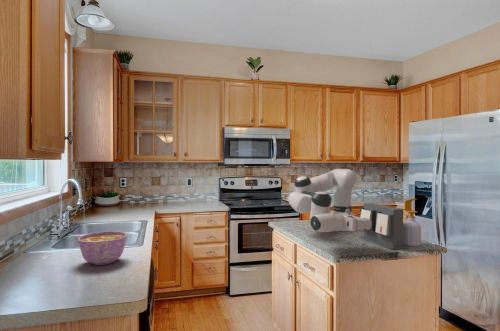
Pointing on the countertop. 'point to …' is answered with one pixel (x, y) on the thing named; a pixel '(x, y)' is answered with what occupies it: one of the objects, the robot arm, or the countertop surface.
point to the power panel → (395, 227)
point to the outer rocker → (382, 224)
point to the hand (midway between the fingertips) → (367, 220)
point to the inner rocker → (366, 214)
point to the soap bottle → (411, 227)
